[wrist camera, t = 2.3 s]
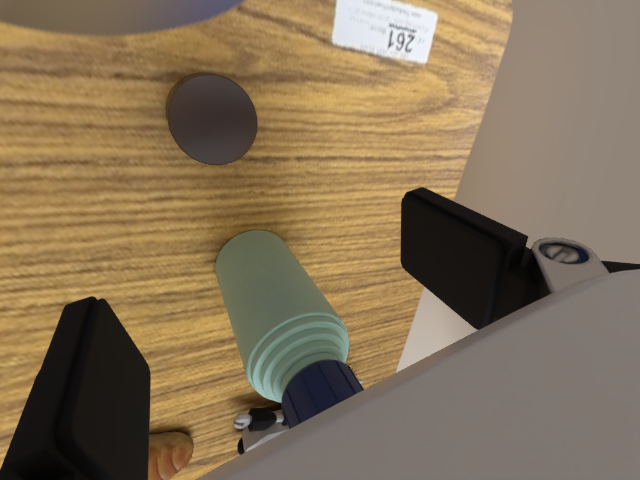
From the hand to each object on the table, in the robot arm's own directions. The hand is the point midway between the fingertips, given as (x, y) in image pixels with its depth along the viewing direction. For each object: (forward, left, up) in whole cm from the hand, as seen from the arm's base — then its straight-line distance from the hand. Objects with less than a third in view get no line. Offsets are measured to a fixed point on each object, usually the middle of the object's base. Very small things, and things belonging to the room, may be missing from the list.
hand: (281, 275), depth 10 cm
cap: (+8, -5, 0) cm, 10 cm away
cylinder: (-2, +2, -15) cm, 16 cm away
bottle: (+8, -5, -15) cm, 18 cm away
